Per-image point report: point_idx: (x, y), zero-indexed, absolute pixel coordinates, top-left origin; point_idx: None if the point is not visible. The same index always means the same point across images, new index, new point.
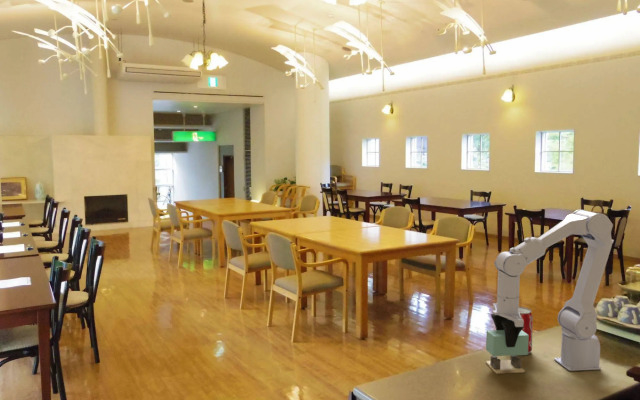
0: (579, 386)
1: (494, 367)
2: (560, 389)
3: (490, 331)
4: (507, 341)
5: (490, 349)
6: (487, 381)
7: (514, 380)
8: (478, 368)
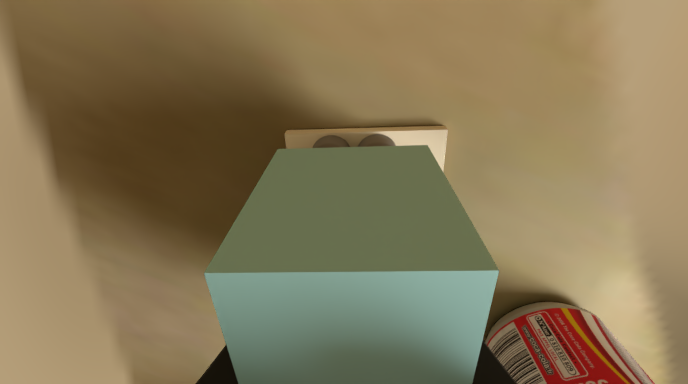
0: (187, 378)
1: (320, 139)
2: (148, 322)
3: (439, 304)
4: (223, 350)
5: (331, 162)
6: (169, 25)
7: (207, 191)
8: (370, 40)
